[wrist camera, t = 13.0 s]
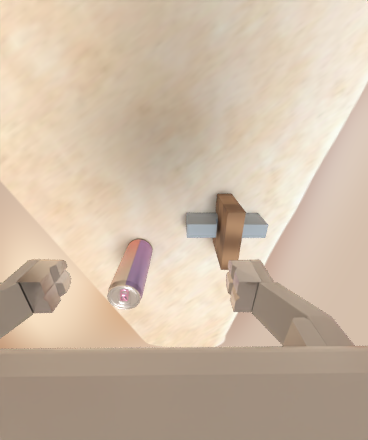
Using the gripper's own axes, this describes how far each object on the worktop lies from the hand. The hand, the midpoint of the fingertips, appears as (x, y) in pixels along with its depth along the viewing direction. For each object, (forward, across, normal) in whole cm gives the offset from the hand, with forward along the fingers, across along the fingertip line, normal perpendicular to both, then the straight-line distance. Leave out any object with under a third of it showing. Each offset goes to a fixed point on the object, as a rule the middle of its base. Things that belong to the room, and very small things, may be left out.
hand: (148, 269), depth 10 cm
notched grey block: (+31, -11, +12) cm, 35 cm away
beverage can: (+31, +8, +20) cm, 38 cm away
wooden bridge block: (+31, -11, +12) cm, 35 cm away
